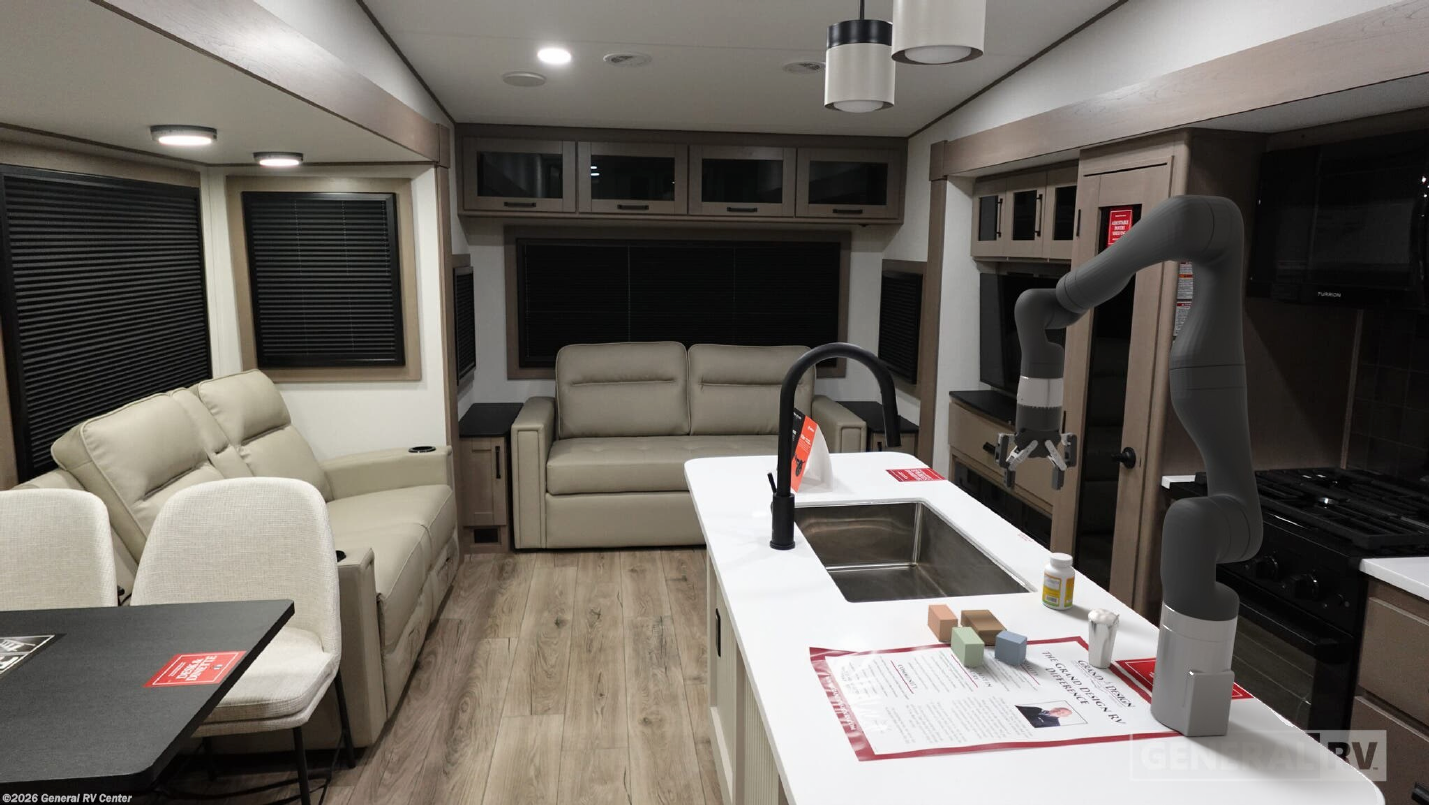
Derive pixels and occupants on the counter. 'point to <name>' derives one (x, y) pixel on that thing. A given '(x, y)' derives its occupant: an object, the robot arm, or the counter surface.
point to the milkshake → (1101, 637)
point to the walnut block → (982, 624)
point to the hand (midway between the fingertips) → (1033, 489)
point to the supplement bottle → (1058, 582)
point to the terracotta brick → (941, 621)
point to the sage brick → (967, 646)
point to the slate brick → (1010, 647)
